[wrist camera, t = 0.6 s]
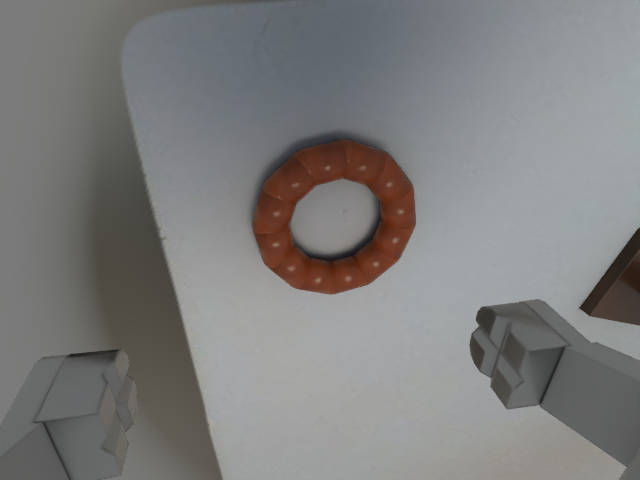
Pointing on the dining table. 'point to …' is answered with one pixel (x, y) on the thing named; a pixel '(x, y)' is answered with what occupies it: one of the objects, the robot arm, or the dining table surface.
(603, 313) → the post
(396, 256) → the ring
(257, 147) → the dining table surface
